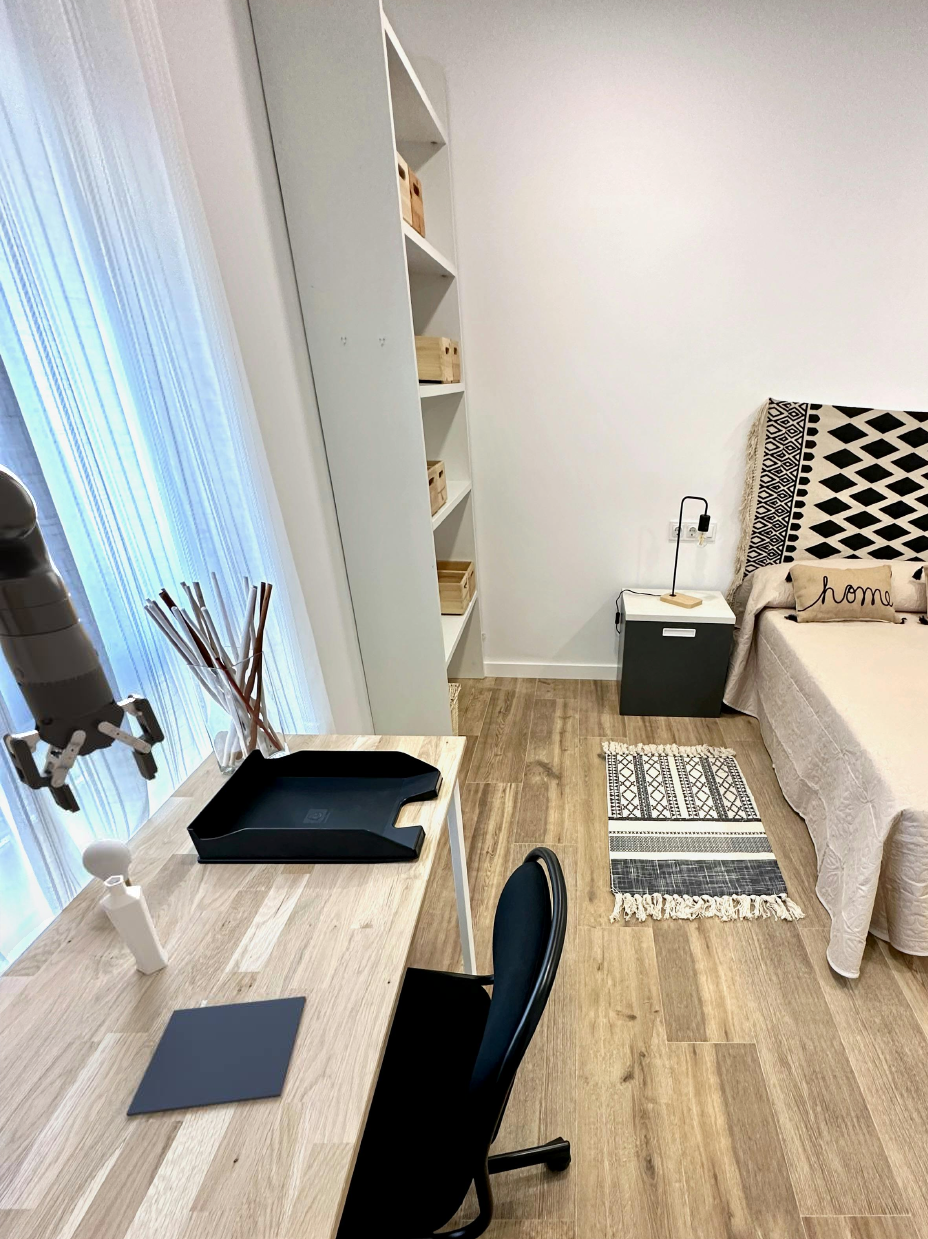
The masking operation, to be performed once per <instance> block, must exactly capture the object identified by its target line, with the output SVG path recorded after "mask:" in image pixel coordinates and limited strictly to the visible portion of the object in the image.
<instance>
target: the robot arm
mask: <svg viewBox="0 0 928 1239" xmlns="http://www.w3.org/2000/svg"><path fill="white" fill-rule="evenodd" d="M37 509H38V508H37V505H36V502H35V500H34V497H33V496H32V494H31V493H30V491H29V490H28V488H27V487H26V486H25V484H24V483H23V482H22V481H21V479H20V478H19V477H18V476H17V475H15V473H13V472H12V471H11V470H9V469H8V468H6V467H5V466H3V465H2V464H0V648H1V651H2V654H3V656H4V659H5V661H6V663H7V666H8V667H9V670H10V671H11V673H12V675H13V677H14V680H15V682H16V684H17V685H18V688H19V691H20V692H21V694H22V696H23V699H24V701H25V703H26V705H27V707H28V709H29V711H30V713H31V715H32V717H33V719H34V723H35V724H34V729H33V730H30V731H26V732H23V733H19V734H15V733H12V732H8V733H6V734H4V735H3V737H2V741H3V743H4V747H5V748H6V750H7V753H8V755H9V758H10V760H11V762H12V765H13V767H14V770H15V771H16V775H17V777H18V779H19V781H20V782H22V783H23V784H24V785H26V786H28V787H29V788H30V789H32V790H35V791H38V790H40V789H42V788H48V790H49V792H50V794H51V796H52V798H53V801H54V803H55V804H56V805H57V806H58V807H60V809H62V810H64V811H69V812H70V813H72V814H74V813H77V812H80V811H81V808H80V806H79V803H78V802H77V800H76V797H75V795H74V793H73V791H72V789H71V787H70V785H69V783H67V782H66V779H67V775H68V774H69V771H70V770H71V769H72V768H73V767H74V765H75V762H76V759H77V758H78V756H81V757H82V758H84V757H86V756H89V755H91V754H92V753H94V752H96V751H97V750H98V751H99V750H104V749H107V748H109V747H112V746H113V745H112V744H113V743H115V741H116V740H117V741H119V742H121V743H124V744H125V745H127V746H129V747H131V748H132V750H131V753H132V754H131V755H132V756H133V759H134V761H135V763H136V766H137V769H138V771H139V773H140V776H141V777H143V778H144V779H145V780H147V781H150V782H151V781H153V780H156V778H157V776H156V774H157V773H158V772H159V767H158V765H157V762H156V760H155V758H154V755H153V751H152V750H153V747H154V746H155V745H156V744H159V743H162V742H164V740H165V738H166V737H165V734H164V732H163V730H162V728H161V725H160V723H159V721H158V719H157V716H156V715H155V712H154V710H153V708H152V705H151V703H150V701H149V699H147V698H145V697H143V696H141V695H139V694H136V693H130V694H128V696H127V698H126V699H124V700H122V701H120V702H117V701H116V700H115V697H114V694H113V691H112V689H111V686H110V684H109V681H108V679H107V676H106V673H105V671H104V669H103V666H102V663H101V661H100V658H99V656H100V655H99V653H98V650H97V649H96V647H95V646H94V644H93V641H92V639H91V636H90V634H89V633H88V632H87V630H86V628H85V626H84V625H83V623H82V621H81V618H80V616H79V612H78V611H77V608H76V606H75V604H74V601H73V598H72V596H71V593H70V592H69V591H70V590H69V589H68V586H67V584H66V583H65V580H64V578H63V577H62V575H61V574H60V572H59V570H58V569H57V567H56V565H55V563H54V562H53V559H52V557H51V554H50V552H49V548H48V545H47V543H46V540H45V537H44V534H43V531H42V529H41V527H40V523H39V520H38V510H37ZM126 713H127V714H129V715H130V716H132V717H134V718H135V719H136V721H137V723H138V725H139V727H140V729H141V731H142V732H141V733H142V734H141V735H139V736H138V737H136V736H134V735H132V734H131V733H129V732H127V731H125V730H123V729H121V726H122V724H123V720H124V717H125V714H126ZM40 741H42V742H43V743H46V744H48V745H49V747H48V750H47V752H46V755H45V764H44V766H43V768H42V771H41V772H40V771H39V769H38V766H37V764H36V761H35V759H34V756H33V754H34V753H35V752H36V751H37V744H38V743H39V742H40Z"/></svg>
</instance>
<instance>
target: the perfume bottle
mask: <svg viewBox="0 0 928 1239" xmlns="http://www.w3.org/2000/svg"><path fill="white" fill-rule="evenodd" d="M102 885H104V886H105V887H106V889H107V891H108V894H107V895H106V896H105V897H104V898H102V899H101V900H100V901H99V905H100V906H101V908H102V909H103V910H104V912H105V914H106V916H107V917H108V919H109V920H110V921H111V923H112V925H113V926H114V928H115V929H116V931H117V933H118V934H119V936H120V938H121V939H122V940H123V942H124V943H125V945H126V946H127V949H128V950H129V951H130V953H131V954H132V956H133V958H134V960H135V963H136V970H138V971H139V972H141V973H143V974H145V975H147V976H149V975H151V974H153V973H155V972H157V971H160V970H161V969H163V968H165V967H167V966H168V965H169V953H168V952H167V951H166V950H165V949H164V948H162V946H161V942H160V939H159V936H158V933H157V930H156V926H155V924H154V922H153V919H152V916H151V913H150V910H149V908H148V905H147V901H146V898H145V895H144V893H143V890H142V887H141V886H140V885H132V887H127V886H126V884H125V882H124V880H123V876H122V875H120V876H111V877H110V878H108V879H107V880H106V881H105V882H103V883H102Z"/></svg>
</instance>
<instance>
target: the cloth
mask: <svg viewBox="0 0 928 1239" xmlns="http://www.w3.org/2000/svg"><path fill="white" fill-rule="evenodd" d="M306 999H307V998H306V996H305V995H303V996H301V995H300V996H294V997H285V998H276V999H266V1000H258V1001H257V1000H256V1001H248V1002H237V1003H228V1004H219V1005H209V1006H200V1007H193V1008H184V1009H183V1008H182V1009H175V1010H173V1011H172V1014H171V1016H170V1018H169V1020H168V1021H167V1024H166V1026H165V1028H164V1031H163V1033H162V1035H161V1037H160V1040H159V1041H158V1044H157V1046H156V1049H155V1050H154V1053H153V1055H152V1057H151V1060H150V1061H149V1064H148V1065H147V1068H146V1070H145V1072H144V1074H143V1076H142V1078H141V1081H140V1083H139V1086H138V1087H137V1089H136V1092H135V1094H134V1095H133V1098H132V1101H131V1103H130V1105H129V1107H128V1109H127V1111H126V1113H125V1114H126V1117H131V1116H137V1115H138V1116H139V1115H146V1114H155V1113H162V1112H170V1111H176V1110H185V1109H193V1108H200V1107H208V1106H209V1107H210V1106H216V1105H225V1104H232V1103H237V1102H239V1103H240V1102H245V1101H252V1100H253V1101H254V1100H261V1099H269V1098H278V1097H281V1096H282V1092H283V1089H284V1084H285V1081H286V1077H287V1073H288V1069H289V1066H290V1061H291V1058H292V1054H293V1050H294V1045H295V1042H296V1038H297V1033H298V1029H299V1026H300V1023H301V1018H302V1015H303V1012H304V1007H305V1003H306Z"/></svg>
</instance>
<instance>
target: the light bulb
mask: <svg viewBox="0 0 928 1239" xmlns="http://www.w3.org/2000/svg"><path fill="white" fill-rule="evenodd" d="M81 860H82V866H83V868H84V869H85V870H86V872H88V873H89V874H90V875H91V876H93V877H96V878H98V879H100V880H101V881H102V882H103V883H104V882H105V881H106V880H107V879H108V878H110V877H111V876H120V875H122V876H123V880H124V882H125V884H126V886H127V887H132V886H133V885H132V883H131V880H130V877H129V876H130V874H129V868H130V864H131V861H132V853H131V850H130V848H129V847H128V846H127V845H126V844H125V843H124V842H122V841H121V840H119V839H117V838H116V839H115V838H100V839H98V840H95V841H94V842H92V843H90V844H89V845H88V846H87V847H86V848H85V849H84V851H83V854H82V859H81Z"/></svg>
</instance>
